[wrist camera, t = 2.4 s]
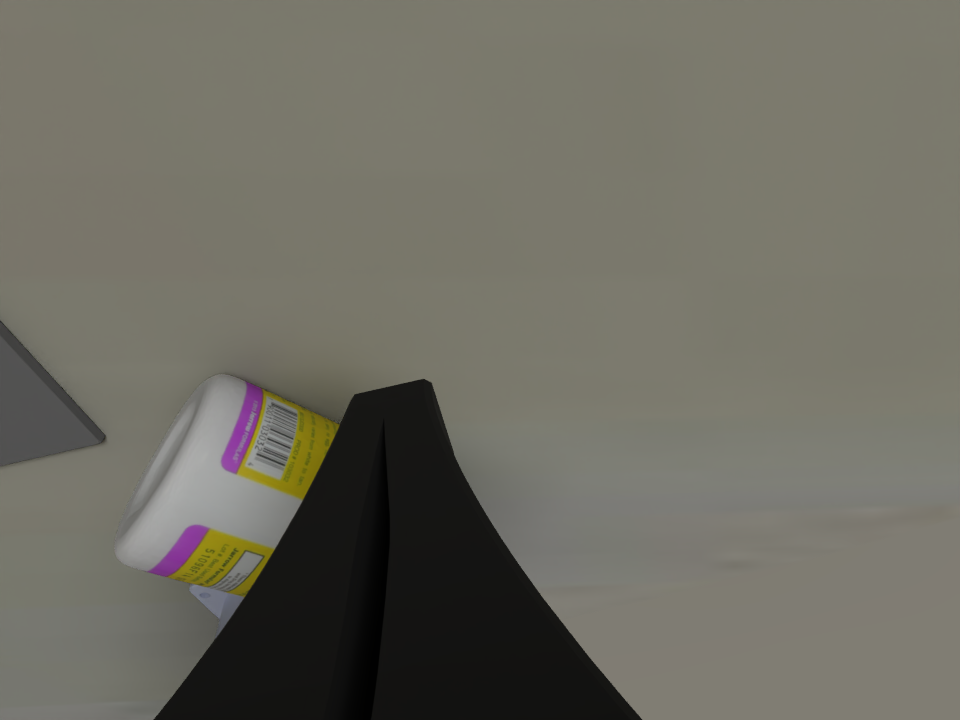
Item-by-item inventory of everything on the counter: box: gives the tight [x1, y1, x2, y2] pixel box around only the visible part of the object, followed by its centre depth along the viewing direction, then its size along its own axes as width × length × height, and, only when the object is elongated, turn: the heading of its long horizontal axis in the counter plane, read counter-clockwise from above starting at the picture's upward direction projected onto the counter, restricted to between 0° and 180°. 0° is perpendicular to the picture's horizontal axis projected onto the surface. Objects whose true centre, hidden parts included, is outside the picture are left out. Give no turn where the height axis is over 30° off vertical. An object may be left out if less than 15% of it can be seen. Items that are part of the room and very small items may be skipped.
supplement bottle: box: [115, 374, 340, 597], centre depth 21 cm, size 7×7×13 cm
